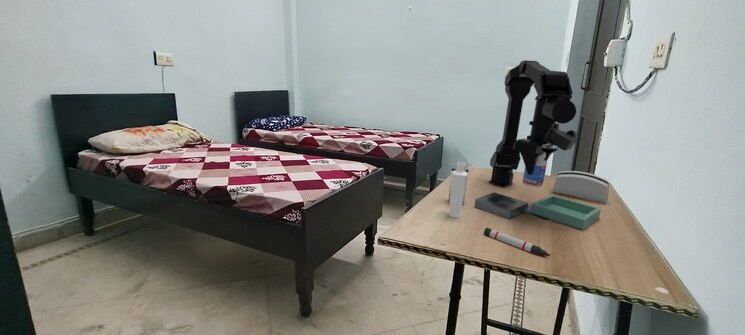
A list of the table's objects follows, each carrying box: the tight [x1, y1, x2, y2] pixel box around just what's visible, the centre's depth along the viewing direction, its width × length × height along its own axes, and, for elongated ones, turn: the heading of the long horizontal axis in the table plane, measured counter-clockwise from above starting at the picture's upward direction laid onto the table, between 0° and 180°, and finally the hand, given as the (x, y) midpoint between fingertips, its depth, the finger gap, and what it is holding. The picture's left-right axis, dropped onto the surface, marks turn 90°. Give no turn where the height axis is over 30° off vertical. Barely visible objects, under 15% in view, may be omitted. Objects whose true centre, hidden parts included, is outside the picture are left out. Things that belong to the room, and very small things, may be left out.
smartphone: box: [500, 204, 550, 221], centre depth 104 cm, size 8×1×15 cm
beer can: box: [448, 162, 469, 204], centre depth 105 cm, size 5×5×12 cm
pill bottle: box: [522, 151, 548, 188], centre depth 98 cm, size 6×5×10 cm
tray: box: [530, 194, 602, 231], centre depth 100 cm, size 14×14×3 cm
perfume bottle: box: [447, 161, 469, 219], centre depth 94 cm, size 5×4×15 cm
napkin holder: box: [551, 170, 610, 204], centre depth 117 cm, size 17×5×10 cm, turn 55°
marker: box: [483, 227, 552, 257], centre depth 81 cm, size 15×2×2 cm, turn 45°
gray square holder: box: [474, 191, 529, 220], centre depth 103 cm, size 11×11×2 cm
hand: (534, 173), depth 99 cm, fingers closed on pill bottle, 5 cm apart
